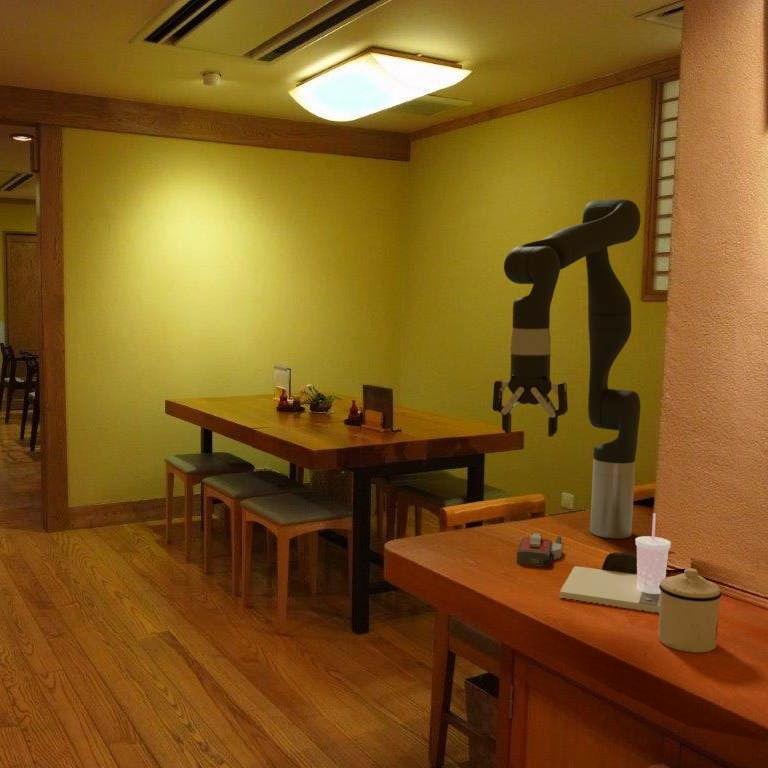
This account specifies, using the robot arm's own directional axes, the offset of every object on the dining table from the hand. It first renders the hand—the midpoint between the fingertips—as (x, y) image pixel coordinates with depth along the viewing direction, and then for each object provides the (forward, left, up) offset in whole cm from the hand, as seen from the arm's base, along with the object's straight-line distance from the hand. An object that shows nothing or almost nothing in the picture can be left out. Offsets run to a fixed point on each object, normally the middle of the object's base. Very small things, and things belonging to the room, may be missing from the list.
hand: (529, 434), depth 163 cm
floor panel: (+6, +22, -27) cm, 35 cm away
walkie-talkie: (-11, +1, -27) cm, 30 cm away
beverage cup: (+6, +24, -26) cm, 36 cm away
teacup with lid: (+24, +31, -27) cm, 47 cm away
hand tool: (-7, +23, -27) cm, 36 cm away
